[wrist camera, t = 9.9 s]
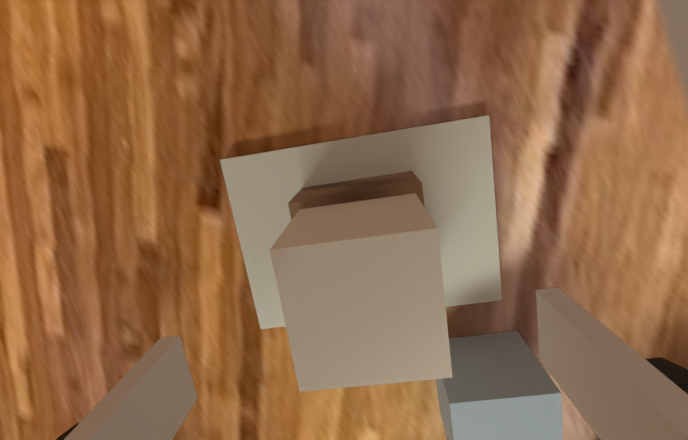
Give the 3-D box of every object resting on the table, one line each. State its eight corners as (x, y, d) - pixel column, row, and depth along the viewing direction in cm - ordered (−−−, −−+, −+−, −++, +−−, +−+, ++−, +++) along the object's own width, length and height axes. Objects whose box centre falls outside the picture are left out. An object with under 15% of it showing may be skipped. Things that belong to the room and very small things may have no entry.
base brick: (321, 287, 28) (312, 322, 24) (302, 187, 27) (287, 203, 22) (424, 274, 28) (436, 307, 23) (411, 170, 26) (421, 183, 21)
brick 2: (439, 409, 32) (459, 488, 25) (431, 339, 30) (449, 403, 24) (521, 402, 31) (563, 480, 24) (516, 330, 30) (560, 393, 23)
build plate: (263, 322, 31) (260, 329, 30) (225, 158, 28) (219, 160, 27) (497, 294, 29) (502, 300, 28) (484, 115, 26) (489, 115, 25)
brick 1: (319, 313, 23) (299, 391, 17) (299, 209, 22) (269, 250, 15) (427, 300, 23) (452, 377, 16) (415, 193, 21) (437, 228, 15)
